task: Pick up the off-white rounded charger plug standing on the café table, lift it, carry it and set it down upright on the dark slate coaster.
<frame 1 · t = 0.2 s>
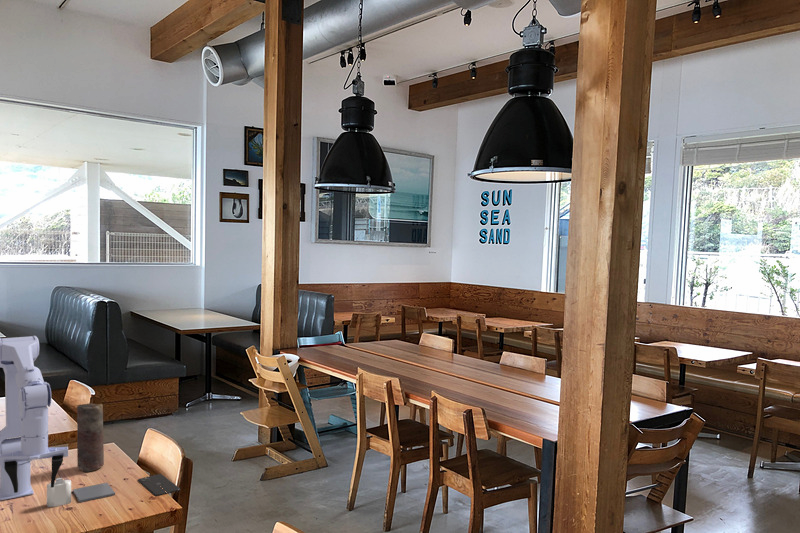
hand: (34, 488, 154), 10 cm above the table, fingers open, 7 cm apart
charger plug: (59, 503, 168), on the table
slate coaster: (93, 493, 175), on the table
candle: (90, 468, 194), on the table
smartphone: (158, 486, 182), on the table
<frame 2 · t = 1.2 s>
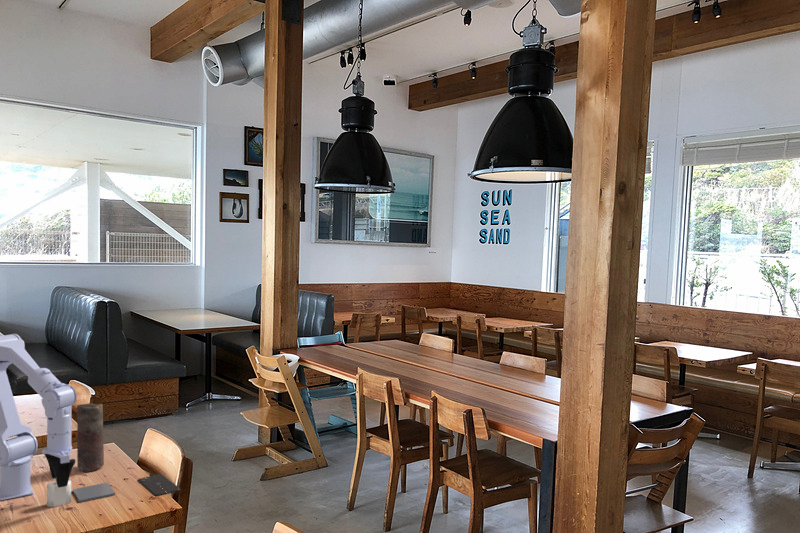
hand: (59, 481, 168), 6 cm above the table, fingers open, 7 cm apart
nothing on the table moved.
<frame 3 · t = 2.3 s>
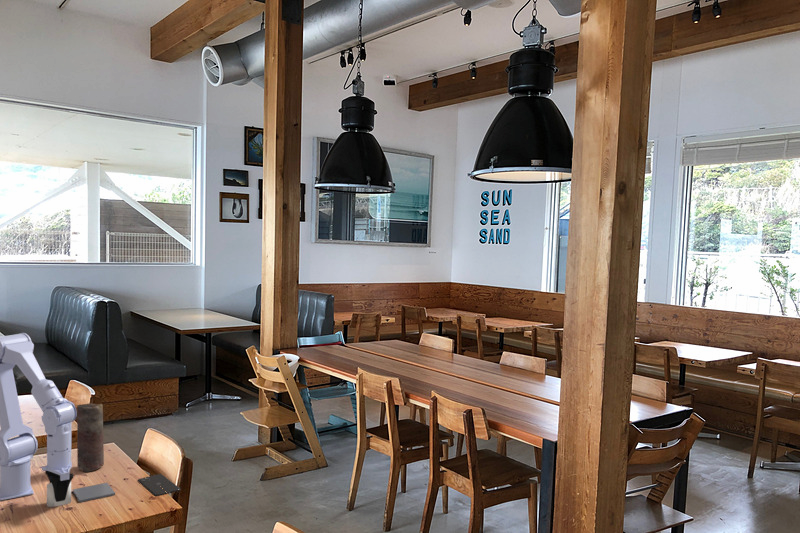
hand: (59, 498, 168), 1 cm above the table, fingers closed on charger plug, 3 cm apart
charger plug: (59, 503, 168), on the table, touching gripper
everything else where it was.
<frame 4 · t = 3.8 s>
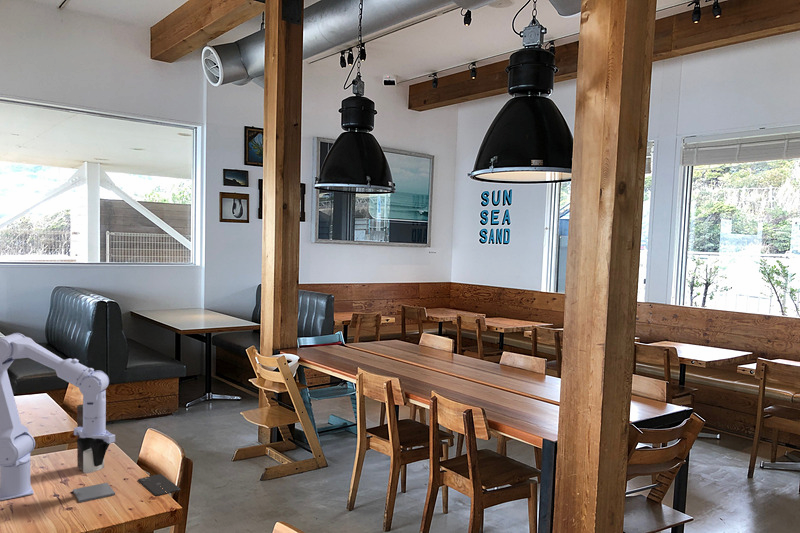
hand: (94, 463, 175), 8 cm above the table, fingers closed on charger plug, 3 cm apart
charger plug: (93, 469, 175), point 7 cm above the table, touching gripper
everything else where it was.
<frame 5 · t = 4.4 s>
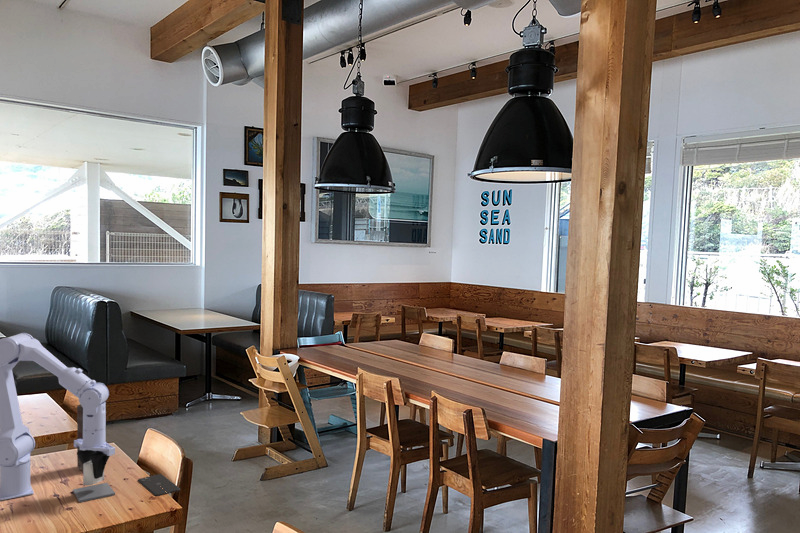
hand: (94, 476, 175), 5 cm above the table, fingers closed on charger plug, 3 cm apart
charger plug: (93, 481, 175), point 3 cm above the table, touching gripper
everything else where it was.
when the fingers open (3 cm above the table, at t = 5.1 s): charger plug stays where it is, resting on slate coaster.
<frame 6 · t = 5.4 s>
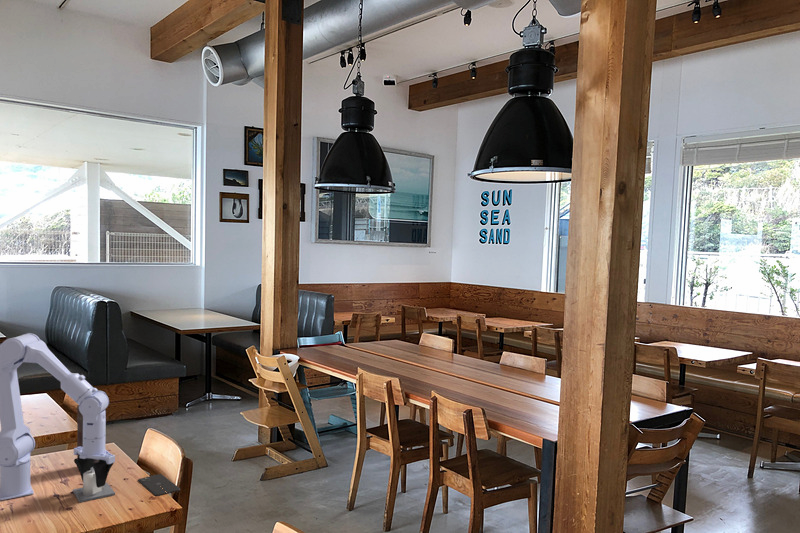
hand: (93, 484, 175), 3 cm above the table, fingers open, 5 cm apart
charger plug: (93, 491, 175), point 1 cm above the table, touching slate coaster
everything else where it was.
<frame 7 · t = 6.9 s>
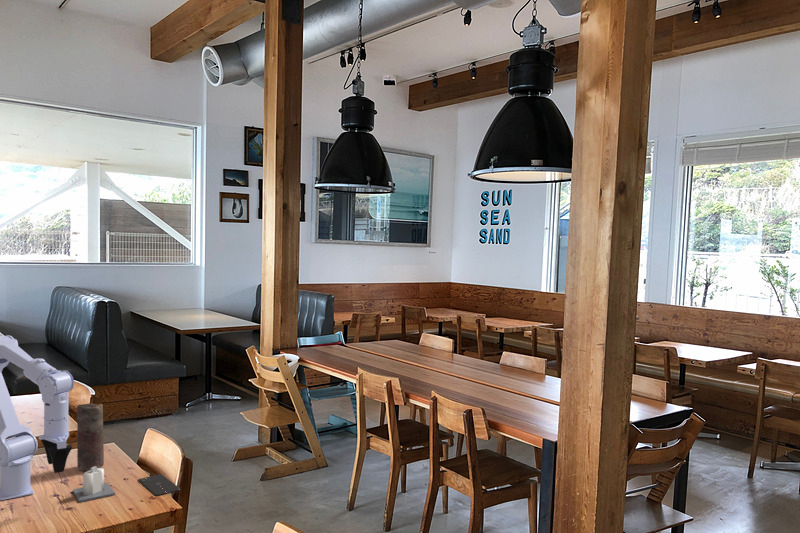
hand: (55, 467, 168), 10 cm above the table, fingers open, 7 cm apart
nothing on the table moved.
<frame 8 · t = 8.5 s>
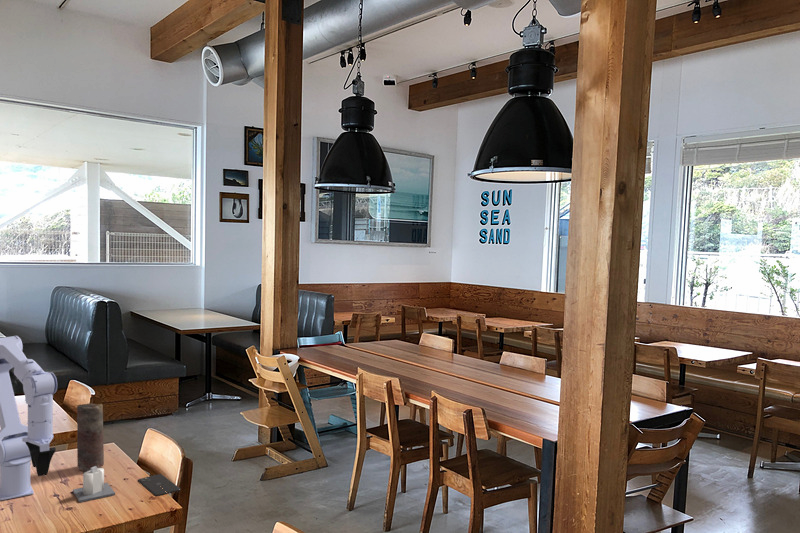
hand: (40, 470, 165), 10 cm above the table, fingers open, 7 cm apart
nothing on the table moved.
at the end: charger plug inside the target area on the slate coaster (0.0 cm from its centre), point 0.6 cm above the slate coaster's base; charger plug tilted 0°; the gripper is holding nothing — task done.
